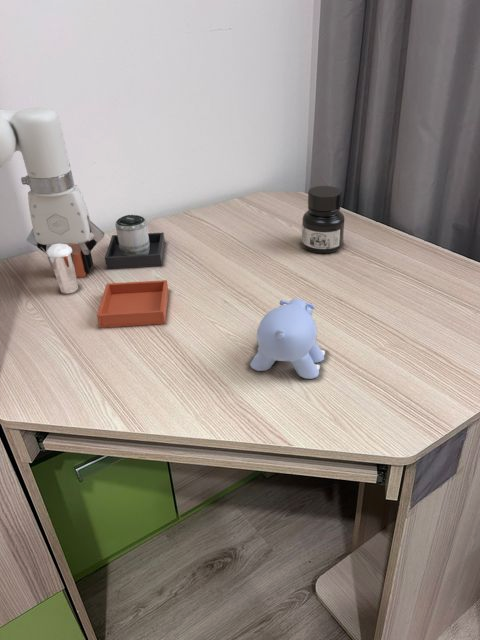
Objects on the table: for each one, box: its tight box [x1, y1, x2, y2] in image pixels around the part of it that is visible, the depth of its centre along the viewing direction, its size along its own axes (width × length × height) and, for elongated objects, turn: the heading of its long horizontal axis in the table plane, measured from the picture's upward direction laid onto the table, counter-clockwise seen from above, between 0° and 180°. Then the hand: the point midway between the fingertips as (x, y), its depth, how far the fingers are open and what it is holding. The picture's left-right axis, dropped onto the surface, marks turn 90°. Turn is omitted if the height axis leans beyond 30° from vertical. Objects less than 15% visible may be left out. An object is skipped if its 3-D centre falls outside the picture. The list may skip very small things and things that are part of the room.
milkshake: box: [41, 243, 79, 295], centre depth 100 cm, size 4×5×10 cm
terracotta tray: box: [96, 279, 170, 329], centre depth 97 cm, size 11×11×2 cm
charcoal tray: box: [104, 232, 166, 270], centre depth 114 cm, size 11×11×2 cm
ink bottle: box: [301, 185, 345, 254], centre depth 114 cm, size 10×9×12 cm
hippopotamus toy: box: [249, 298, 326, 380], centre depth 82 cm, size 11×15×10 cm
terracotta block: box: [66, 243, 87, 278], centre depth 108 cm, size 5×5×5 cm
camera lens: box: [114, 214, 150, 256], centre depth 112 cm, size 6×6×8 cm
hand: (74, 269), depth 109 cm, fingers closed on terracotta block, 5 cm apart
